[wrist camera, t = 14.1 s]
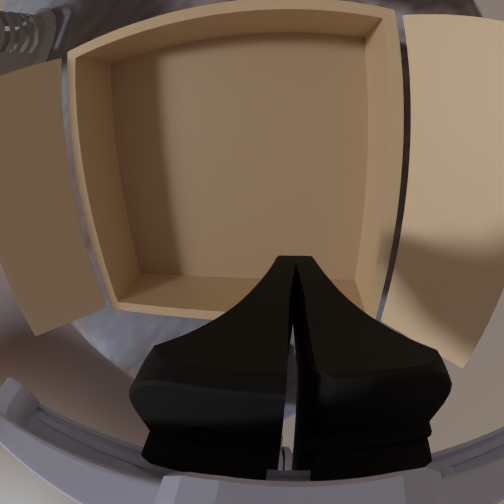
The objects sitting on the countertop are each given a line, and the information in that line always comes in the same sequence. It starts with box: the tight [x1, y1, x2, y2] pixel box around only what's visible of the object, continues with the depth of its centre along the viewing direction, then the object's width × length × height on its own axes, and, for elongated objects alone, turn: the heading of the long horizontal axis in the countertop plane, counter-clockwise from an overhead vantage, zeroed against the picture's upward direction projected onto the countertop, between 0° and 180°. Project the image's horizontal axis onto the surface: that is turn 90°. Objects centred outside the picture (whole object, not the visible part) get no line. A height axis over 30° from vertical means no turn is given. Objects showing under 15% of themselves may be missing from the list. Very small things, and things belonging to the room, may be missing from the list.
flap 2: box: [381, 14, 504, 368], centre depth 10 cm, size 19×7×1 cm
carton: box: [67, 0, 404, 320], centre depth 17 cm, size 20×20×5 cm
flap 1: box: [0, 58, 107, 336], centre depth 14 cm, size 19×7×1 cm
